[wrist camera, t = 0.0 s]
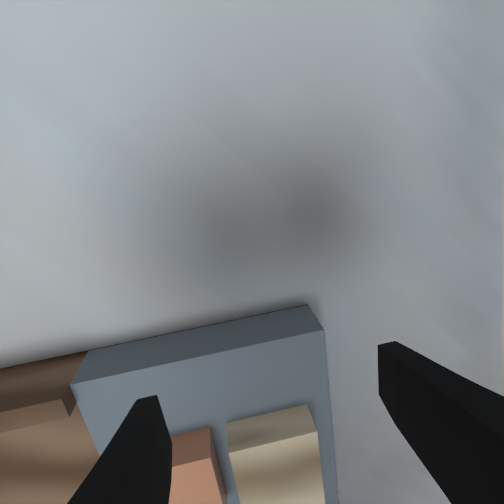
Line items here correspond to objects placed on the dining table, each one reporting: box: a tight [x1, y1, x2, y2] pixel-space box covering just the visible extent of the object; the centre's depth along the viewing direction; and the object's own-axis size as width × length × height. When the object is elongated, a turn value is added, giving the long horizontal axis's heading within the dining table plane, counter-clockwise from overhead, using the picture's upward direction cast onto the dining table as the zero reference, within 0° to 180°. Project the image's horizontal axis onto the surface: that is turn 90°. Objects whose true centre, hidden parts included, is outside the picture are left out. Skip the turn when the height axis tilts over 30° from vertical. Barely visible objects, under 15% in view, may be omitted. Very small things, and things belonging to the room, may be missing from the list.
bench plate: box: [70, 305, 339, 504], centre depth 22 cm, size 16×14×3 cm
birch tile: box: [226, 404, 325, 504], centre depth 20 cm, size 6×5×2 cm
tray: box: [0, 351, 100, 504], centre depth 20 cm, size 16×13×4 cm
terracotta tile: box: [169, 427, 228, 504], centre depth 19 cm, size 6×5×2 cm
